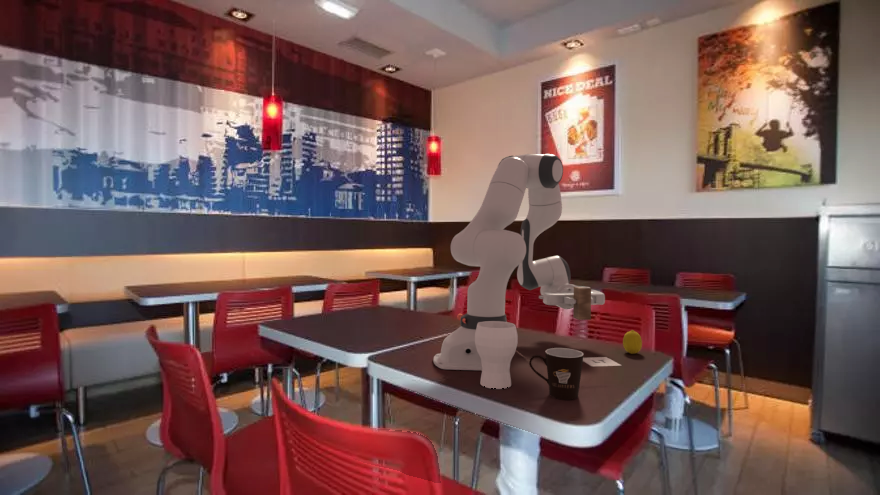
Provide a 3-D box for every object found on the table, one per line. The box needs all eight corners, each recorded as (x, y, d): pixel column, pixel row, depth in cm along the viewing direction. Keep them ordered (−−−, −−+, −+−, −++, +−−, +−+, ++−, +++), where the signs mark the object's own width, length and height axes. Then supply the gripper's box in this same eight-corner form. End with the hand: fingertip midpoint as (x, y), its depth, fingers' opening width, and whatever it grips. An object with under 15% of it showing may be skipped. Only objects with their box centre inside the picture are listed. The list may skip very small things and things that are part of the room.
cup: (524, 389, 107) (524, 327, 106) (482, 393, 104) (483, 329, 104) (507, 376, 117) (507, 319, 117) (469, 379, 115) (469, 321, 114)
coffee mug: (589, 395, 103) (590, 352, 103) (571, 404, 97) (572, 359, 97) (545, 383, 111) (546, 344, 111) (526, 391, 105) (527, 350, 105)
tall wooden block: (578, 319, 139) (579, 288, 139) (573, 317, 143) (573, 286, 143) (590, 319, 140) (591, 288, 140) (585, 317, 144) (585, 286, 144)
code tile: (591, 368, 125) (591, 366, 125) (578, 359, 134) (578, 357, 134) (621, 367, 126) (621, 365, 126) (606, 359, 135) (606, 356, 135)
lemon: (644, 357, 137) (645, 332, 137) (626, 357, 137) (627, 331, 137) (637, 353, 142) (637, 328, 142) (619, 352, 142) (620, 328, 142)
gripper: (537, 287, 153) (552, 292, 139) (593, 286, 155) (613, 291, 142) (536, 305, 153) (551, 312, 139) (593, 304, 156) (613, 311, 142)
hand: (583, 301), depth 141 cm, fingers closed on tall wooden block, 4 cm apart
